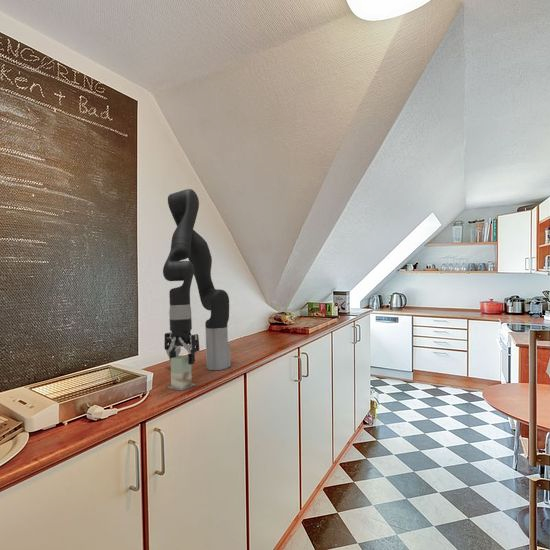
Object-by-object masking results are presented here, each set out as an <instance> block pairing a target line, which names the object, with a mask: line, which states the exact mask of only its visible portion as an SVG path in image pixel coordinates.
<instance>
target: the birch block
mask: <svg viewBox="0 0 550 550" xmlns="http://www.w3.org/2000/svg"><path fill="white" fill-rule="evenodd" d="M192 383H193V381H192V370H191V371H189V372H186V373H183V374H178V373H171V372H170V386H171V387H176V388H181V389H182V388H184V387H187V386H189V385H192Z"/></svg>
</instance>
